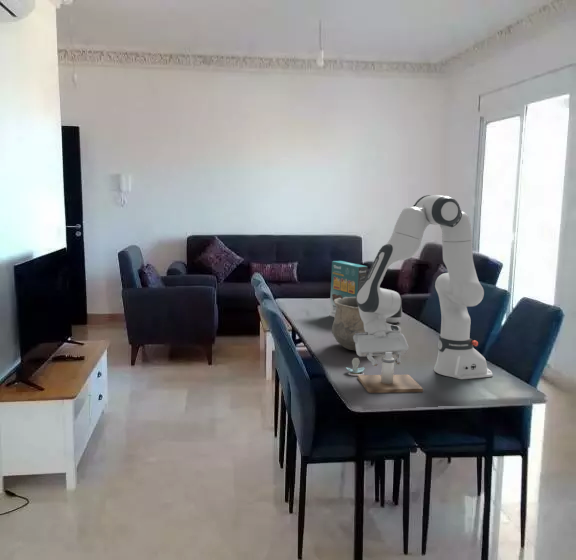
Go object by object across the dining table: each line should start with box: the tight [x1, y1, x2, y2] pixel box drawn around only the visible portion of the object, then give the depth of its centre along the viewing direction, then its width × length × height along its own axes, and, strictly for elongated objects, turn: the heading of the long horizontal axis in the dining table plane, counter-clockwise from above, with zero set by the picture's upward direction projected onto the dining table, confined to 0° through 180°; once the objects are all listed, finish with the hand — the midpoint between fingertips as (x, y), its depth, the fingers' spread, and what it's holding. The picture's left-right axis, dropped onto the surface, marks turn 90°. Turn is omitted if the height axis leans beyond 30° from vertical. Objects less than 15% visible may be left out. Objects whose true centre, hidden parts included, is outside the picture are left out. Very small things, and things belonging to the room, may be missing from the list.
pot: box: [331, 297, 365, 352], centre depth 275 cm, size 25×24×21 cm
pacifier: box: [345, 357, 366, 377], centre depth 241 cm, size 7×6×6 cm
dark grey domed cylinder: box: [386, 306, 403, 324], centre depth 328 cm, size 10×10×15 cm
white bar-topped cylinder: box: [380, 352, 396, 384], centre depth 228 cm, size 5×5×11 cm
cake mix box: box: [329, 260, 368, 318], centre depth 330 cm, size 22×6×30 cm, turn 34°
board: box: [357, 374, 424, 394], centre depth 230 cm, size 20×16×1 cm
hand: (387, 364), depth 229 cm, fingers open, 8 cm apart
